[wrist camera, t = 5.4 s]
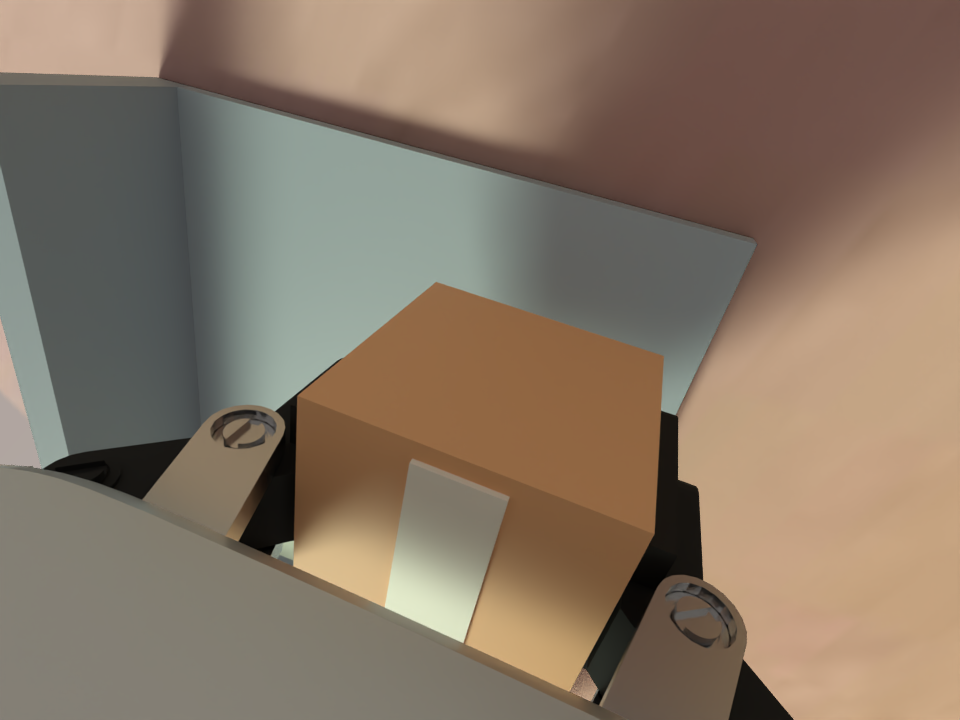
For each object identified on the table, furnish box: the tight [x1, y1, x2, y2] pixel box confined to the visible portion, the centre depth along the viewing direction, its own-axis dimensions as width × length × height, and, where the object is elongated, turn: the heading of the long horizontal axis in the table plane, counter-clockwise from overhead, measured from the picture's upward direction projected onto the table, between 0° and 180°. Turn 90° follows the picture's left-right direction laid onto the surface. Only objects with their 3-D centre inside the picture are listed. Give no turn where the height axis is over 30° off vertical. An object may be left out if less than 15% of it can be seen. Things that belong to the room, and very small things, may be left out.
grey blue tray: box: [0, 72, 757, 566], centre depth 17 cm, size 22×17×6 cm
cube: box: [293, 282, 664, 692], centre depth 10 cm, size 5×5×5 cm
